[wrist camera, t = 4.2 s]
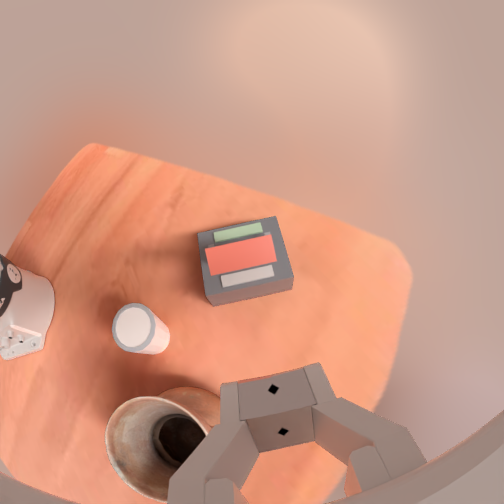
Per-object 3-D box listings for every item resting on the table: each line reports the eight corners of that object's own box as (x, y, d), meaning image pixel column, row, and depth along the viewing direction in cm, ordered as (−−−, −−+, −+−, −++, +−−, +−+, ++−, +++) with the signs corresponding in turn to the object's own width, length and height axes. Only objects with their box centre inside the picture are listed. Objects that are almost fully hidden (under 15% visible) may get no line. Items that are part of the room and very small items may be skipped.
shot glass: (144, 365, 38) (121, 360, 31) (128, 327, 41) (105, 316, 34) (181, 346, 39) (163, 338, 33) (162, 308, 42) (144, 293, 36)
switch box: (291, 289, 42) (295, 268, 35) (213, 306, 41) (200, 289, 34) (276, 233, 46) (275, 204, 39) (204, 248, 46) (192, 223, 39)
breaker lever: (266, 254, 39) (276, 261, 27) (221, 264, 39) (210, 275, 26) (262, 236, 39) (271, 234, 27) (217, 246, 39) (204, 249, 26)
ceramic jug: (235, 371, 37) (209, 364, 24) (271, 461, 30) (264, 498, 17) (127, 401, 35) (68, 399, 23) (157, 484, 29) (108, 512, 16)
